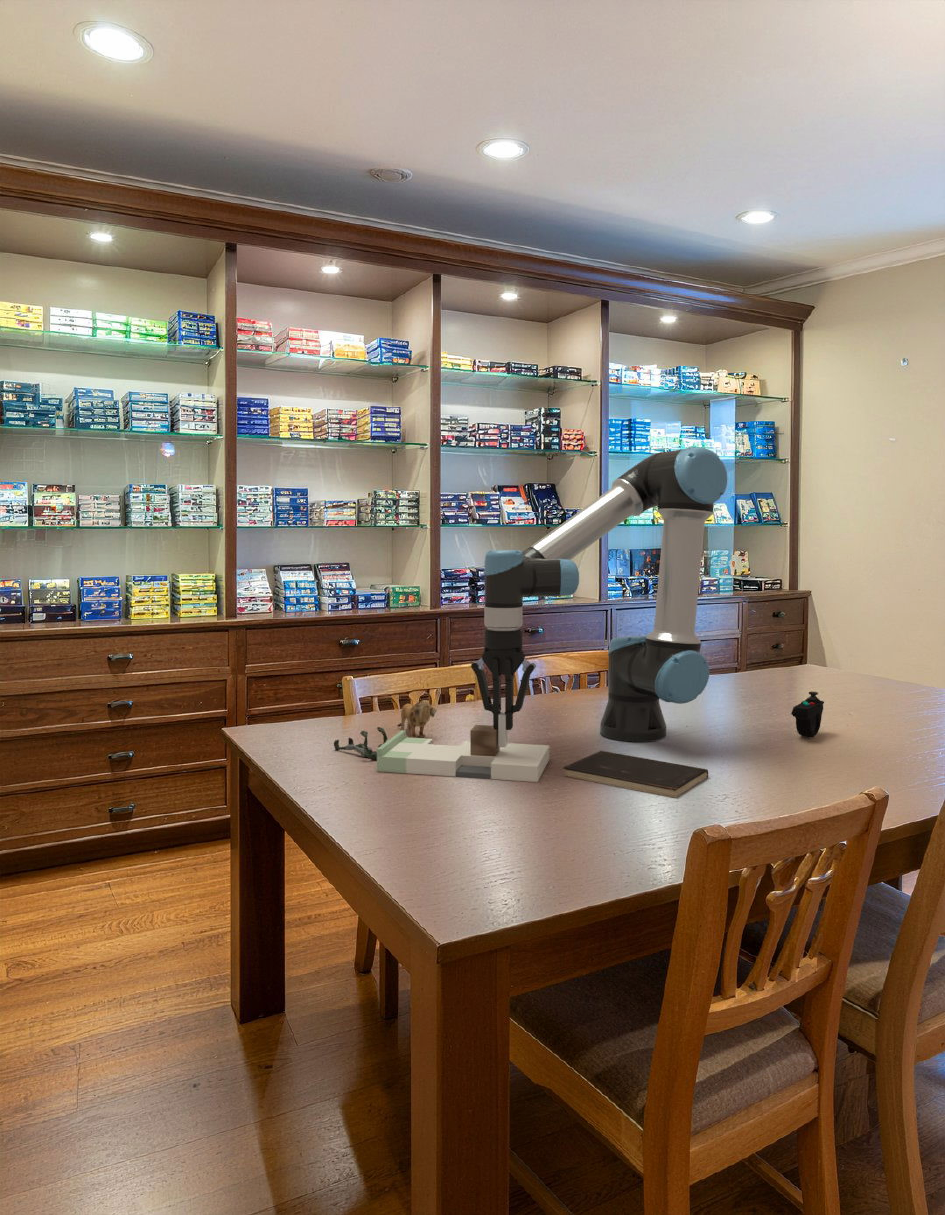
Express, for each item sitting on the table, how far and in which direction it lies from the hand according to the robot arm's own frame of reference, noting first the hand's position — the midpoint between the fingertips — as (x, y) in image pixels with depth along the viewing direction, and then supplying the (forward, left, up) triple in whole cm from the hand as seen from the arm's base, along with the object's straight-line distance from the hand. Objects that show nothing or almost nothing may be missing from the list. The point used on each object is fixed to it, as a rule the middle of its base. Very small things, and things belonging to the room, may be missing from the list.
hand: (502, 745), depth 171 cm
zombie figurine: (+31, -3, -5) cm, 31 cm away
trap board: (+8, 0, -5) cm, 9 cm away
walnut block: (+4, 0, -2) cm, 4 cm away
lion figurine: (+25, -23, -5) cm, 34 cm away
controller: (-63, -40, -5) cm, 75 cm away
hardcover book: (-26, 0, -5) cm, 27 cm away
